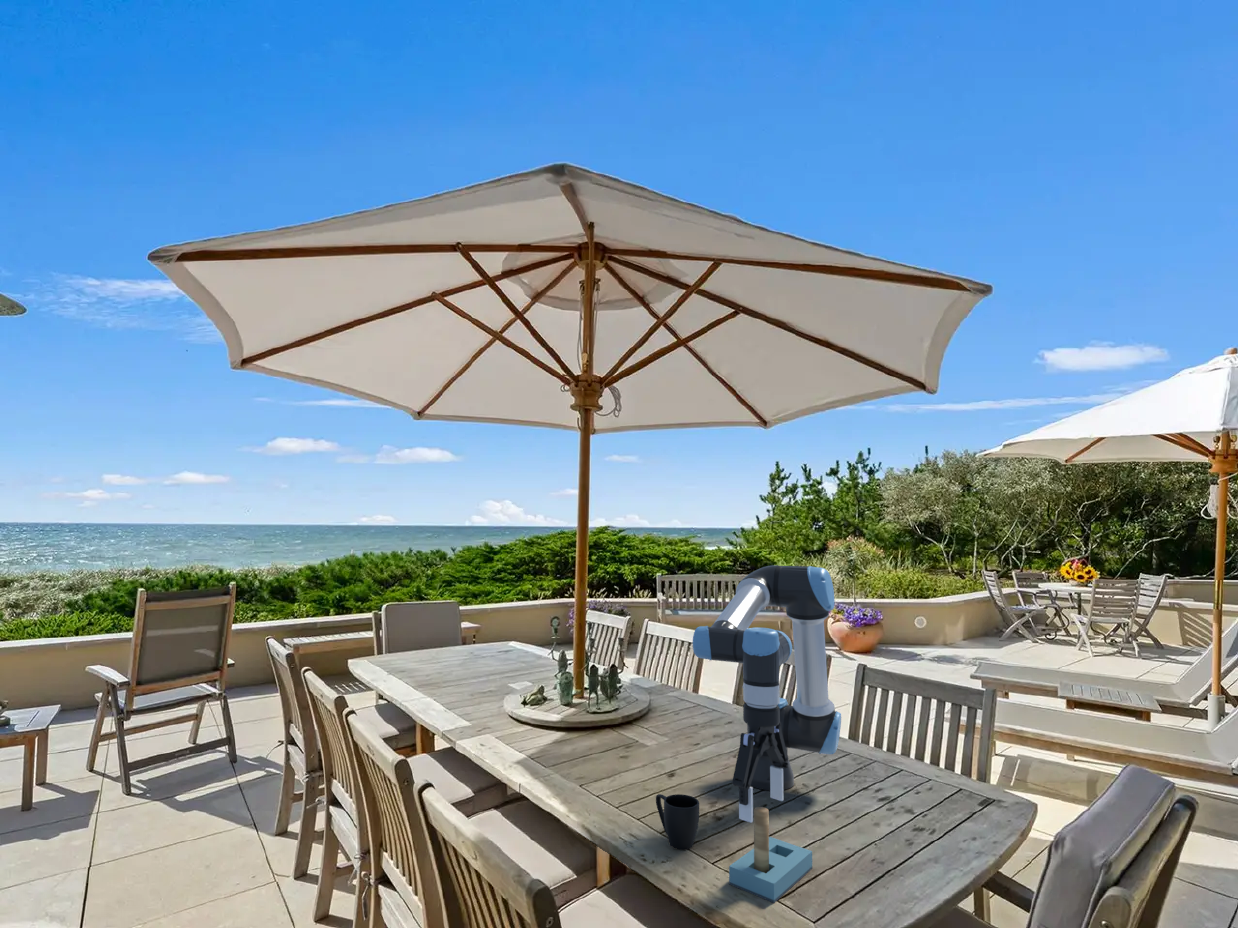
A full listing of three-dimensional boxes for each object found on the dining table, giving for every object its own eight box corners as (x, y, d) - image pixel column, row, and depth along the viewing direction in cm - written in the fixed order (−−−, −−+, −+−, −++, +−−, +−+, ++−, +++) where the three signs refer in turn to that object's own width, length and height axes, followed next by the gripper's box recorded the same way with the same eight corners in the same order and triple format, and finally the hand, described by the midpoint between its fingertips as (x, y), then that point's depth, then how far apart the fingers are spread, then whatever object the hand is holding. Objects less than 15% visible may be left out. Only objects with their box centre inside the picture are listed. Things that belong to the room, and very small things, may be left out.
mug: (670, 827, 156) (670, 786, 157) (706, 846, 146) (706, 802, 148) (645, 836, 150) (645, 793, 152) (681, 856, 141) (681, 811, 142)
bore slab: (769, 852, 144) (769, 836, 144) (812, 868, 137) (812, 850, 138) (729, 884, 130) (729, 865, 131) (774, 902, 124) (774, 883, 124)
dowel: (758, 876, 133) (758, 805, 134) (771, 881, 131) (771, 809, 132) (751, 882, 130) (751, 809, 132) (764, 887, 128) (764, 814, 130)
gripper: (772, 689, 147) (773, 786, 144) (714, 712, 128) (714, 823, 125) (803, 695, 142) (804, 795, 140) (748, 720, 123) (749, 836, 121)
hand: (762, 809), depth 133 cm, fingers open, 13 cm apart
